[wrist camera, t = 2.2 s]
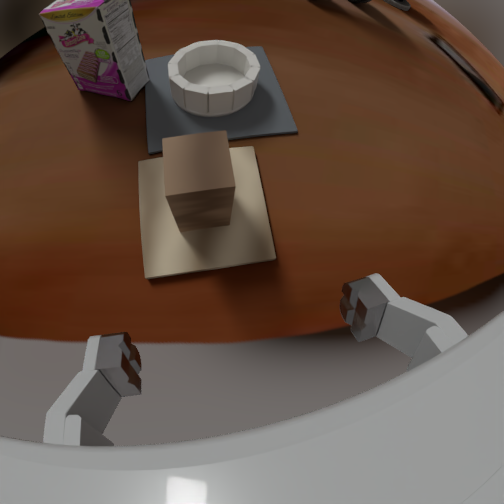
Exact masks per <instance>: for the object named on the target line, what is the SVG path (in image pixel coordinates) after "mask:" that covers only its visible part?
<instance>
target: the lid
mask: <svg viewBox="0 0 504 504" xmlns="http://www.w3.org/2000/svg"><path fill="white" fill-rule="evenodd" d="M162 146H163V157H160V158H154V159H149V160H143V161H138V168H139V206H140V225H141V239H142V251H143V262H144V272H145V278H146V279H152V278H159V277H166V276H173V275H179V274H186V273H193V272H200V271H206V270H213V269H220V268H226V267H233V266H239V265H246V264H252V263H259V262H265V261H272V260H275V259H276V255H275V250H274V245H273V240H272V235H271V230H270V225H269V220H268V215H267V210H266V205H265V200H264V195H263V190H262V186H261V181H260V176H259V171H258V167H257V162H256V157H255V153H254V148H253V146H249V147H238V148H229V144H228V138H227V133H226V130H224V131H214V132H205V133H197V134H189V135H182V136H175V137H169V138H163V139H162Z"/></svg>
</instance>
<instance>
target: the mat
mask: <svg viewBox="0 0 504 504" xmlns="http://www.w3.org/2000/svg"><path fill="white" fill-rule="evenodd" d="M245 48H247V49H248V50H250V51H252V52H253V53H254V54H255V55H256V57H257V60H258V62H259V64H260V72H259V77H258V82H257V87H256V89H255V91H254V95H253V98H252V100H251V101H250V102H249V104H248V105H246V106H245V107H244V108H243V109H241V110H239V111H237V112H235V113H233V114H230V115H226V116H221V117H202V116H196V115H193V114H190V113H188V112H186V111H184V110H182V109H181V108H180V107H179V106H178V105H177V104H176V103H175V102H174V100H173V98H172V95H171V88H170V82H169V73H168V62H169V61H170V60H171V59H172V57H173V56H174V55H170V56H164V57H159V58H154V59H149V60H145V63H146V67H147V71H148V74H149V78H150V80H149V81H148V82H147V83H146V84H145V95H146V123H147V141H148V153H149V155H150V154H154V153H159V152H163V146H162V139H163V138H169V137H175V136H182V135H189V134H197V133H205V132H214V131H224V130H226V133H227V138H228V140H233V139H241V138H249V137H258V136H267V135H277V134H289V133H297V132H298V130H297V128H296V125H295V123H294V120H293V118H292V115H291V112H290V110H289V107H288V105H287V103H286V100H285V98H284V95H283V93H282V91H281V88H280V86H279V83H278V81H277V79H276V76H275V74H274V72H273V70H272V67H271V65H270V63H269V61H268V59H267V56H266V54H265V52H264V50H263V48H262V47H245Z"/></svg>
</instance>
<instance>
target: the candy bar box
mask: <svg viewBox="0 0 504 504" xmlns="http://www.w3.org/2000/svg"><path fill="white" fill-rule="evenodd" d="M39 15H40V17H41V19H42V21H43V23H44V25H45V28H46V30H47V32H48V33H49V36H50V37H51V39H52V42H53V43H54V45H55V47H56V49H57V51H58V53H59V54H60V57H61V58H62V61H63V62H64V64H65V66H66V68H67V70H68V71H69V73H70V75H71V77H72V79H73V80H74V82H75V84H76V86H77V88H78V90H82V91H88V92H93V93H98V94H102V95H107V96H111V97H116V98H120V99H124V100H128V101H132V100H133V99H134V97H135V96H136V95H137V94H138V92H139V91H140V90H141V89H142V88H143V87H144V86H145V84H146V83H147V82H148V81H149V80H150V78H149V74H148V71H147V67H146V63H145V59H144V56H143V52H142V48H141V44H140V40H139V35H138V32H137V27H136V24H135V19H134V15H133V11H132V6H131V2H130V0H55V1H54V2H53V3H51V4H50V5H49V6H47V7H46V8H45V9H44V10H43V11H42V12H41V13H40V14H39Z"/></svg>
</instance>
